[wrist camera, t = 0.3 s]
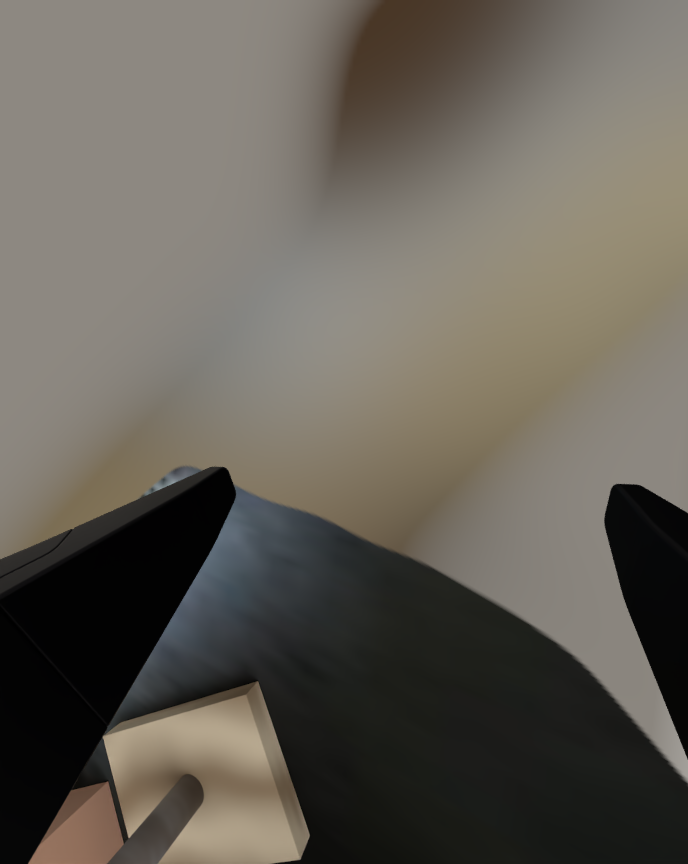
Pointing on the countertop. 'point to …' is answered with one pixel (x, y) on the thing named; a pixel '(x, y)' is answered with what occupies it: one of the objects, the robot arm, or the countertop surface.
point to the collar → (82, 830)
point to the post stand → (206, 784)
